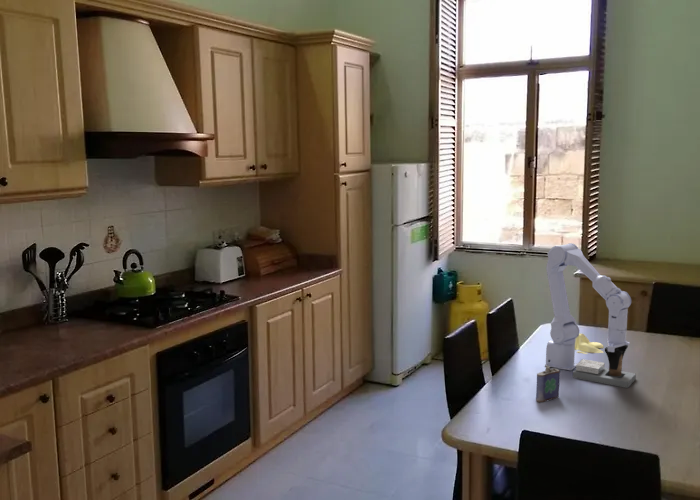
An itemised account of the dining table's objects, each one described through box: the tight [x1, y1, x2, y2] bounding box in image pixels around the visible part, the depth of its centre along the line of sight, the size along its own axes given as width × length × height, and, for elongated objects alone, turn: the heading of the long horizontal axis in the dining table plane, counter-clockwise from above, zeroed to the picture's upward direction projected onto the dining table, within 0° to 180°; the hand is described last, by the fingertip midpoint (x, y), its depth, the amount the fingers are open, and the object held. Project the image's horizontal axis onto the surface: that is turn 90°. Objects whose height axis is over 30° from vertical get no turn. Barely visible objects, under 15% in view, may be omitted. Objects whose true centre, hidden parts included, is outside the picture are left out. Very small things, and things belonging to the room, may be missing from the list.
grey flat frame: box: [572, 367, 637, 389], centre depth 229 cm, size 18×10×2 cm, turn 54°
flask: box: [535, 365, 561, 403], centre depth 210 cm, size 9×3×11 cm, turn 121°
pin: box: [608, 354, 624, 376], centre depth 226 cm, size 4×4×7 cm
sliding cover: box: [575, 358, 606, 374], centre depth 231 cm, size 8×8×2 cm
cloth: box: [575, 332, 605, 355], centre depth 263 cm, size 22×19×6 cm
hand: (615, 367), depth 226 cm, fingers closed on pin, 4 cm apart
